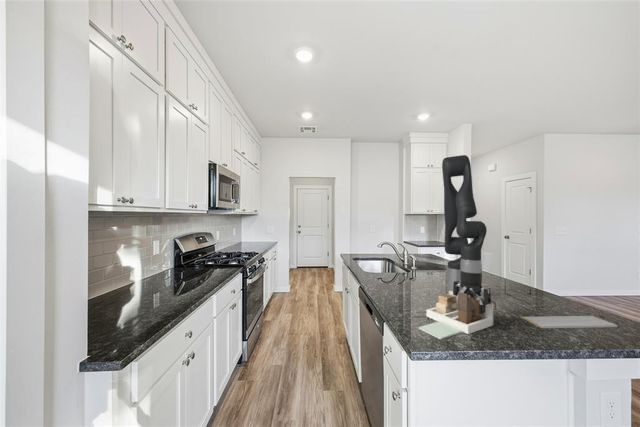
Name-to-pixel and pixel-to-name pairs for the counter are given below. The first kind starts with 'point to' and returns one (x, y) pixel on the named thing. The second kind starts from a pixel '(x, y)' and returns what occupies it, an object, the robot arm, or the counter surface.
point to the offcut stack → (446, 304)
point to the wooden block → (468, 309)
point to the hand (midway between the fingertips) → (470, 310)
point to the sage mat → (440, 330)
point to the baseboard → (569, 322)
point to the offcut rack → (453, 321)
